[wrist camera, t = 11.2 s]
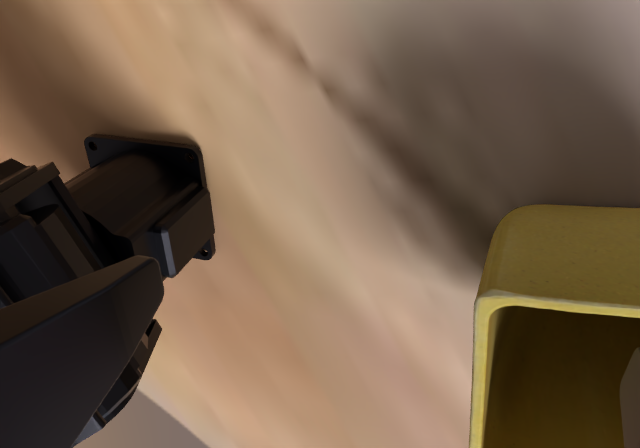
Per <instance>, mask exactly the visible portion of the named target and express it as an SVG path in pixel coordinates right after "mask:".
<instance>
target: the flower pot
mask: <svg viewBox="0 0 640 448" xmlns="http://www.w3.org/2000/svg"><path fill="white" fill-rule="evenodd" d="M639 347H640V208H620V207H593V206H571V205H552V204H539V205H527V206H523V207H519V208H516V209H514V210H512V211H511V212H510V213H508V214H507V215H506V216H504V218H503V219H502V220H501V221H500V223H499V224H498V226H497V228H496V230H495V232H494V234H493V237H492V240H491V244H490V247H489V251H488V255H487V258H486V262H485V266H484V269H483V273H482V277H481V281H480V285H479V289H478V293H477V297H476V300H475V303H474V334H473V366H472V391H471V413H470V435H469V448H624V437H623V427H622V416H621V405H620V384H621V380H622V378H623V375H624V373H625V371H626V368H627V366H628V364H629V361H630V359H631V357H632V355H633V352H634V351H635V350H636V349H637V348H639Z"/></svg>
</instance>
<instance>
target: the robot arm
mask: <svg viewBox="0 0 640 448" xmlns="http://www.w3.org/2000/svg"><path fill="white" fill-rule="evenodd" d="M94 143H95V144H96V145H97V147H96V146H95V144H94ZM84 144H85V149H86V152H87V156H88V160H89V164H90V167H91V168H89V169H87V170H86V171H84V172H82V173H81V174H79V175H77V176H76V177H74V178H72V179H71V180H69V181H68V182H66V183H63V181H62V180H61V178H60V177H59V174H60V172H59V171H58V169H57V168H56V166H55V165H54V163H53V162H51V163H48V164H46V165H43V166H41V167H38V168H36V166H35V165H33V166H25V165H23V164H22V163H20V162H18V161H16V160H14V159H12V158H11V159H9V160H6V161H4V162H2V163H0V448H73V447H74V446H75V445H76V444H78V443H80V442H81V441H83V440H85V439H86V438H88V437H90V436H91V435H93V434H94V433H96V432H98V431H99V430H101V429H102V428H103V427H104V426H105V425H106V424H107V423H108V422H109V421H110V420H112V419H113V418H114V417H115V416H116V415H117V414H118V413H119V412H120V411H121V410H122V409H123V408H124V407H125V405H126V404H127V403H128V401H129V400H130V399H131V397H132V396H133V394H134V392H135V390H136V388H137V386H138V384H139V381H140V379H141V377H142V374H143V372H144V370H145V368H146V365H147V363H148V361H149V358H150V356H151V354H152V352H153V349H154V347H155V345H156V342H157V340H158V338H159V335H160V333H161V331H162V328H161V326H160V325H159V323H158V322H157V320H156V319H153V317H154V315H155V313H156V311H157V309H158V307H159V305H160V304H161V302H162V299H163V296H164V286H163V281H164V280H165V279H166V278H167V277H169V278H173V277H175V276H176V275H177V274H178V273H179V272H180V271H181V270H182V269H183V267H184V266H185V265H186V264H187V263H188V262H189V261H190V260H191V259H192V258H196V259H201V260H209V259H211V258H212V256H213V255H214V254H215V242H214V235H213V234H214V233H215V229H214V221H213V214H212V206H211V199H210V192H209V190H208V189H207V184H206V177H205V170H204V163H203V156H202V153H201V151H200V150H199V148H197V147H196V146H193V145H187V144H178V143H169V142H160V141H152V140H143V139H134V138H125V137H117V136H108V135H99V134H93V135H91V136H89V137H87V138H86V139H85V141H84ZM189 153H190V154H192V155H193V157H194V159H191V158H190V156H189ZM204 249H205V250H207V252H205V251H204ZM620 405H621V416H622V427H623V437H624V448H640V347H639V348H637V349H636V350H635V351H634V352H633V355H632V357H631V359H630V361H629V364H628V366H627V368H626V371H625V373H624V375H623V378H622V380H621V384H620Z"/></svg>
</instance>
